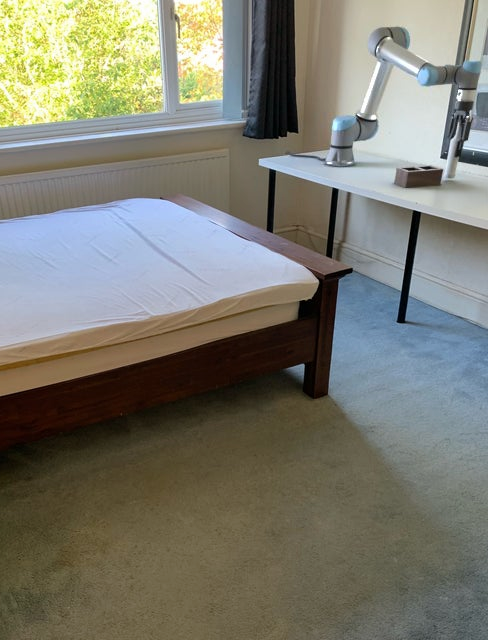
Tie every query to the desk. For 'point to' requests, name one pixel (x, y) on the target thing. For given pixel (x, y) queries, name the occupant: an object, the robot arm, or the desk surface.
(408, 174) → the caddy
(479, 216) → the desk surface
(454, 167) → the bottle
